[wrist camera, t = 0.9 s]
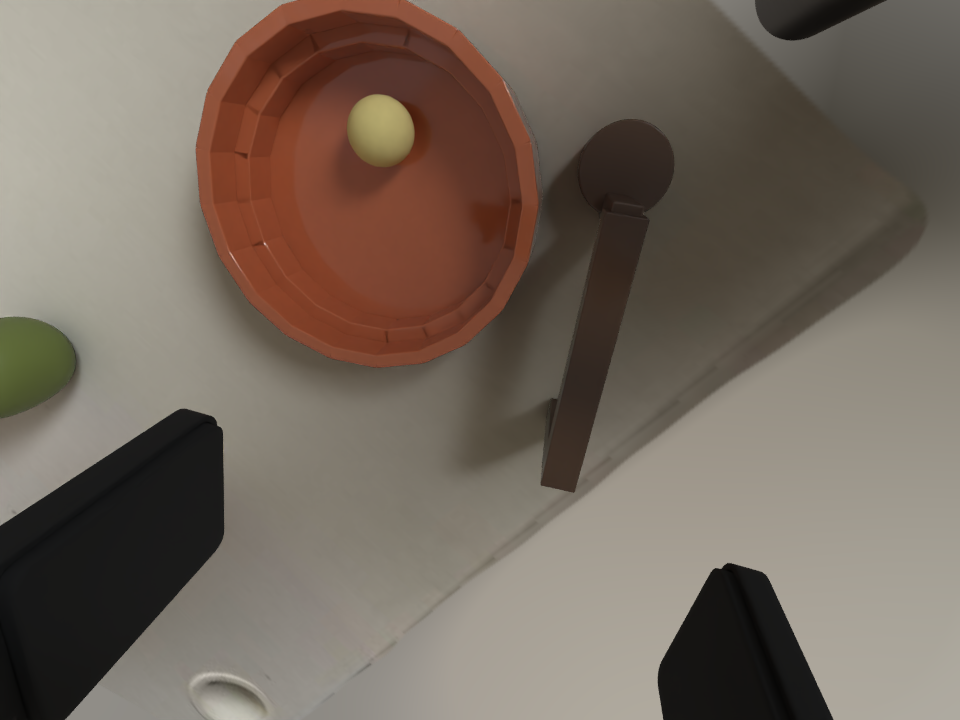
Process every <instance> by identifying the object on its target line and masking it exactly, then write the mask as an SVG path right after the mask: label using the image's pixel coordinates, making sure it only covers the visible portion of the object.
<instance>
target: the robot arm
mask: <svg viewBox="0 0 960 720" xmlns="http://www.w3.org/2000/svg"><path fill="white" fill-rule="evenodd" d="M223 535H224V473H223V430H222V428H221V427H219V426H217V421H216V420H215V418H214V417H212V416H209V415H206V414H202V413H199V412H195V411H192V410H188V409H179V410H177V411H175V412H174V413H172V414H171V415H169V416H168V417H166V418H165V419H163V420H161V421H160V422H158V423H157V424H155V425H154V426H152V427H151V428H149V429H148V430H146V431H145V432H143V433H142V434H140V435H139V436H137V437H135V438H134V439H132V440H131V441H129V442H128V443H126V444H125V445H123V446H122V447H120V448H119V449H117V450H116V451H114V452H113V453H111V454H110V455H108V456H106V457H105V458H103V459H102V460H100V461H99V462H97V463H96V464H94V465H93V466H91V467H90V468H88V469H87V470H85V471H84V472H82V473H80V474H79V475H77V476H76V477H74V478H73V479H71V480H70V481H68V482H67V483H65V484H64V485H62V486H61V487H59V488H58V489H56V490H54V491H53V492H51V493H50V494H48V495H47V496H45V497H44V498H42V499H41V500H39V501H38V502H36V503H35V504H33V505H32V506H30V507H28V508H27V509H25V510H24V511H22V512H21V513H19V514H18V515H16V516H15V517H13V518H12V519H10V520H9V521H7V522H6V523H4V524H3V525H1V526H0V720H65V719H66V718H67V717H68V716H69V715H70V714H71V712H72V711H73V710H74V709H75V708H76V707H77V706H78V705H79V704H80V702H81V701H82V700H83V699H84V698H85V697H86V696H87V695H88V693H89V692H90V691H91V690H92V689H93V688H94V687H95V686H96V685H97V683H98V682H99V681H100V680H101V679H102V678H103V677H104V676H105V674H106V673H107V672H108V671H109V670H110V669H111V668H112V667H113V665H114V664H115V663H116V662H117V661H118V660H119V659H120V658H121V657H122V655H123V654H124V653H125V652H126V651H127V650H128V649H129V648H130V646H131V645H132V644H133V643H134V642H135V641H136V640H137V639H138V637H139V636H140V635H141V634H142V633H143V632H144V631H145V630H146V629H147V627H148V626H149V625H150V624H151V623H152V622H153V621H154V620H155V618H156V617H157V616H158V615H159V614H160V613H161V612H162V611H163V609H164V608H165V607H166V606H167V605H168V604H169V603H170V602H171V601H172V599H173V598H174V597H175V596H176V595H177V594H178V593H179V592H180V590H181V589H182V588H183V587H184V586H185V585H186V584H187V583H188V581H189V580H190V579H191V578H192V577H193V576H194V575H195V574H196V573H197V571H198V570H199V569H200V568H201V567H202V566H203V565H204V564H205V562H206V561H207V560H208V559H209V558H210V557H211V556H212V555H213V553H214V552H215V551H216V550H217V548H218V547H219V545H220V543H221V541H222V539H223ZM658 689H659V695H660V701H661V707H662V714H663V720H833V718H832V716H831V713H830V711H829V709H828V707H827V705H826V702H825V700H824V698H823V696H822V694H821V692H820V689H819V687H818V686H817V683H816V681H815V679H814V676H813V674H812V672H811V670H810V668H809V666H808V663H807V661H806V659H805V657H804V655H803V652H802V650H801V648H800V646H799V644H798V642H797V640H796V637H795V635H794V633H793V631H792V629H791V627H790V624H789V622H788V620H787V618H786V616H785V613H784V611H783V609H782V607H781V605H780V603H779V601H778V599H777V596H776V594H775V592H774V590H773V587H772V585H771V583H770V581H769V579H768V578H767V576H766V575H765V574H764V573H763V572H760V571H756V570H753V569H750V568H746V567H742V566H738V565H735V564H732V563H727V564H726V565H724V566H723V568H722V569H718V568H715V569H713V570H712V572H711V573H710V575H709V577H708V579H707V580H706V582H705V584H704V586H703V587H702V589H701V591H700V593H699V595H698V596H697V598H696V600H695V602H694V604H693V606H692V607H691V609H690V611H689V613H688V615H687V616H686V618H685V620H684V622H683V624H682V625H681V627H680V629H679V631H678V633H677V634H676V636H675V638H674V640H673V642H672V643H671V645H670V647H669V649H668V651H667V652H666V654H665V656H664V658H663V660H662V662H661V664H660V667H659V671H658Z"/></svg>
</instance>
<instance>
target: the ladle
mask: <svg viewBox="0 0 960 720" xmlns="http://www.w3.org/2000/svg"><path fill="white" fill-rule="evenodd" d="M673 172H674V155H673V151H672V148H671V145H670V143H669V141H668V139H667V138H666V136H665V135H664V134H663V133H662V132H661V130H659V129H658V128H657V127H656V126H654V125H652V124H650V123H648V122H645V121H642V120H637V119H626V120H620V121H617V122H614V123H611V124H609V125H607V126H605V127H604V128H602V129H601V130H600V131H598V132H597V133H596V134H595V135H594V136H593V137H592V138H591V139H590V140H589V141H588V143H587V144H586V146H585V147H584V149H583V151H582V154H581V156H580V159H579V164H578V181H579V185H580V189H581V191H582V194H583V196H584V198H585V199H586V201H587V202H588V203H589V204H590V205H591V206H592V207H593V208H594V209H595V210H596V211H598V212H600V213H599V218H600V222H599V227H598V231H597V235H596V239H595V244H594V248H593V252H592V256H591V261H590V265H589V269H588V273H587V278H586V282H585V286H584V290H583V294H582V299H581V303H580V307H579V311H578V316H577V320H576V324H575V328H574V333H573V337H572V341H571V345H570V350H569V354H568V358H567V362H566V367H565V371H564V375H563V379H562V384H561V388H560V392H559V396H558V399H554V398H551V401H550V406H549V410H548V414H547V419H546V426H545V437H544V447H543V458H542V473H541V485H542V486H546V487H551V488H555V489H560V490H564V491H569V492H573V493H574V492H575V489H576V485H577V482H578V478H579V475H580V471H581V467H582V464H583V460H584V456H585V453H586V449H587V445H588V442H589V438H590V435H591V431H592V427H593V424H594V420H595V416H596V413H597V409H598V405H599V402H600V398H601V395H602V391H603V387H604V384H605V380H606V376H607V373H608V369H609V365H610V362H611V358H612V355H613V351H614V347H615V344H616V340H617V336H618V333H619V329H620V325H621V322H622V318H623V314H624V311H625V307H626V304H627V300H628V296H629V293H630V289H631V285H632V282H633V278H634V274H635V271H636V267H637V264H638V260H639V256H640V253H641V249H642V245H643V242H644V238H645V234H646V231H647V227H648V224H649V219H648V218H647V217H646V216H645V215H643V213H644V212H646V211H648V210H649V209H651V208H652V207H653V206H655V205H656V204H657V203H658V202H659V201H660V199H661V198H662V197H663V196H664V194H665V193H666V191H667V189H668V187H669V185H670V183H671V180H672V177H673Z"/></svg>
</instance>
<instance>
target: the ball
mask: <svg viewBox="0 0 960 720" xmlns="http://www.w3.org/2000/svg"><path fill="white" fill-rule="evenodd" d="M347 135H348V139H349V142H350V144H351V146H352V148H353V150H354V151H355V153H356V154H357V155H358V156H359V157H360V158H361V159H362V160H363V161H365V162H367V163H368V164H370V165H373V166H376V167H391V166H394V165H396V164H398V163H400V162H401V161H403V160H404V159H405V158H406V157H407V155H408V154H409V153H410V151H411V149H412V146H413V143H414V137H415V131H414V124H413V121H412V118H411V116H410V114H409V112H408V111H407V109H406V108H405V107H404V106H403V105H402V104H401V103H400V102H399V101H397V100H396V99H394V98H392V97H390V96H387V95H382V94H374V95H369V96H367V97H364V98H363V99H361V100H360V101H358V102H357V103H356V104H355V106H354V107H353V108H352V110H351V112H350V114H349V117H348V121H347Z"/></svg>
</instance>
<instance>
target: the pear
mask: <svg viewBox="0 0 960 720" xmlns="http://www.w3.org/2000/svg"><path fill="white" fill-rule="evenodd" d="M75 365H76V357H75V352H74V349H73V347H72V345H71V343H70V342H69V340H68V339H67V338H66V337H65V335H64V334H63V333H61V332H60V331H59V330H58V329H56V328H55V327H53V326H51V325H49V324H47V323H45V322H42V321H39V320H36V319H31V318H25V317H5V318H0V418H5V417H9V416H12V415H15V414H18V413H21V412H24V411H26V410H28V409H31V408H33V407H35V406H37V405H39V404H41V403H42V402H44V401H46V400H48V399H49V398H51V397H52V396H54V395H55V394H56V393H58V392H59V391H60V390H61V389H62V388H63V387H64V386H65V385H66V384H67V383H68V382H69V380H70V379H71V377H72V375H73V373H74V370H75Z"/></svg>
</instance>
